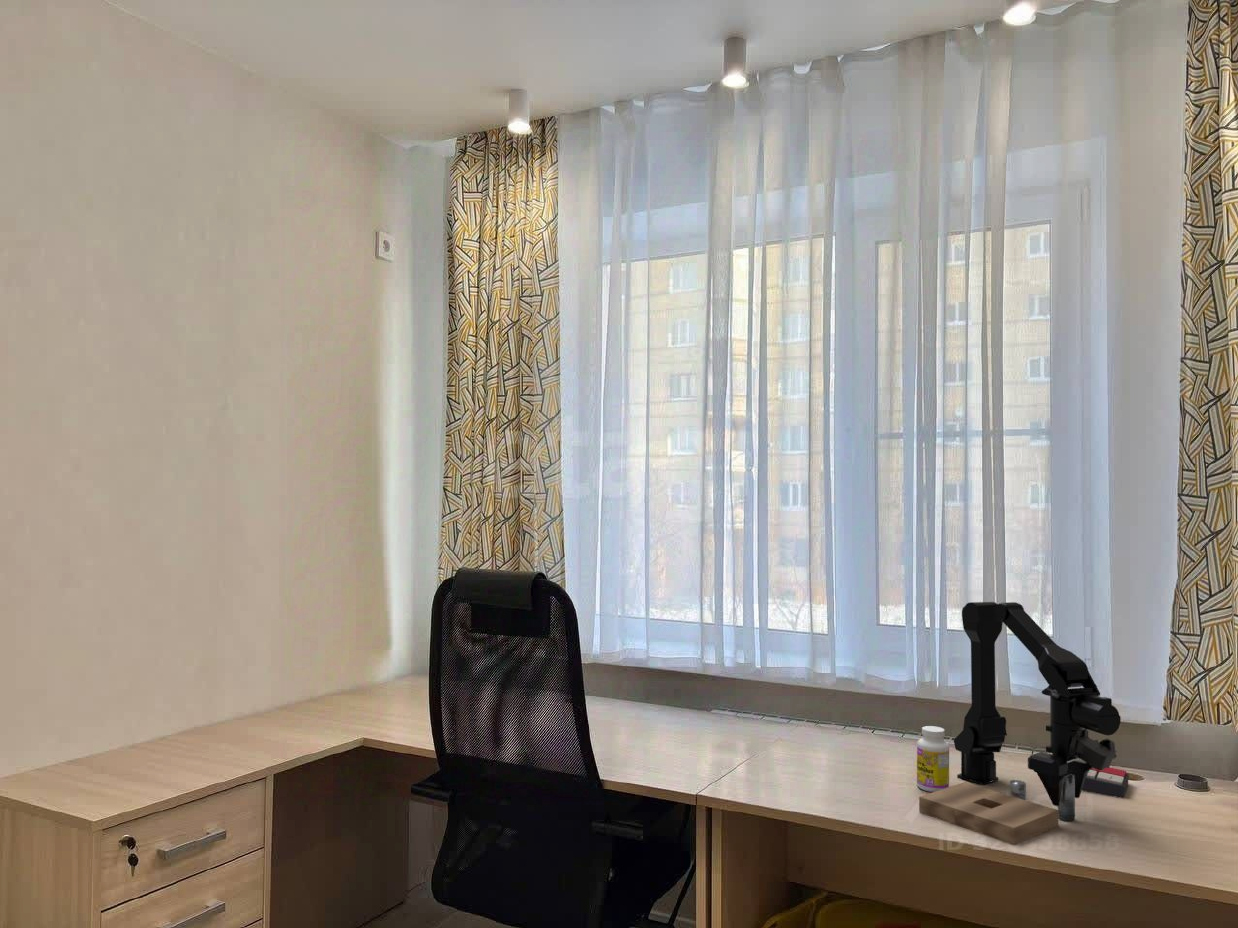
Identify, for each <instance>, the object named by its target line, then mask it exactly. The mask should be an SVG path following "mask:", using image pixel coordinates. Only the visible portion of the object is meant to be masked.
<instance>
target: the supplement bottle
mask: <svg viewBox="0 0 1238 928" xmlns="http://www.w3.org/2000/svg"><path fill="white" fill-rule="evenodd" d="M921 734H922V738H920V739H918V740H917V743H916V785H917V787H918V788H919V789H920V790H923V791H926V792H929V793H932V792H936V791H939V790H942V789H945V788H948V787H950V745H949V743H948V741H946V740H945V739H944V737H945V736H946V733H945V728H943V727H940V726H933V725H925V726H923V727H921Z"/></svg>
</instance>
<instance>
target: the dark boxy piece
mask: <svg viewBox="0 0 1238 928" xmlns="http://www.w3.org/2000/svg"><path fill="white" fill-rule="evenodd" d="M1129 776H1130V775H1129V773H1128V772H1127V770H1125V769H1121V768H1120V769H1119V768H1114V767H1111V766H1110V767H1109V768H1104V769H1103V770H1097V769H1095V768H1092V769H1091V770H1090V771H1089V772H1088V774H1087V776H1086V779H1085V782H1084V785H1083V788H1082V790H1083V792H1087V793H1092V794H1093V793H1094V794H1098V795H1104V796H1109V797H1114V796H1116V797H1115V798H1119V797H1121V798H1120V799H1124V798H1125V795H1126V792H1127V789H1128V787H1129ZM1123 797H1124V798H1123Z"/></svg>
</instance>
